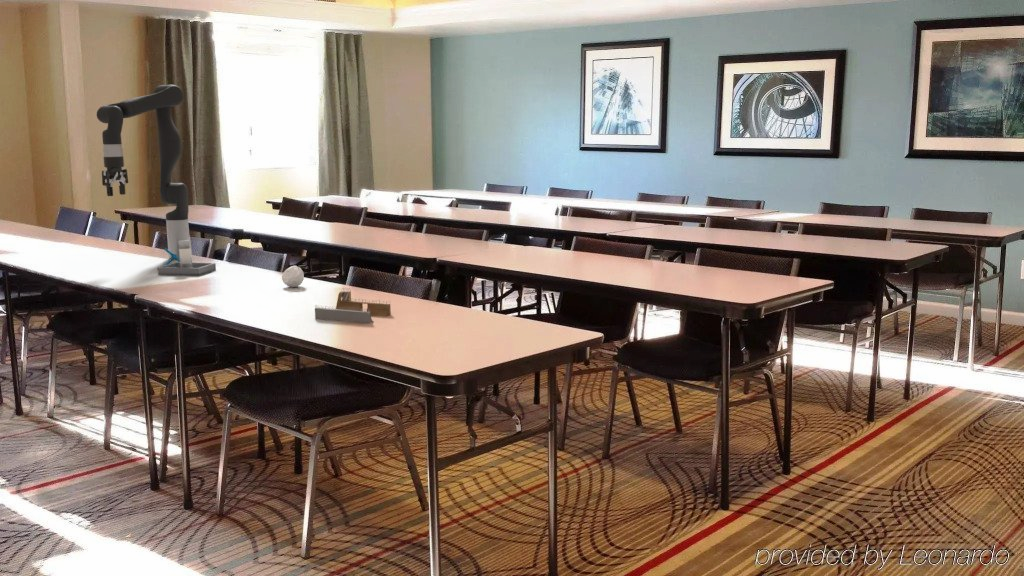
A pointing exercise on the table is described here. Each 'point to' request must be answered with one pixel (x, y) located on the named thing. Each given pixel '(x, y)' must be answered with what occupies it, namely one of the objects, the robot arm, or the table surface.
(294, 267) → the white ball
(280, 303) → the table surface
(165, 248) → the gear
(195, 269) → the parts tray
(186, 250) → the fuse
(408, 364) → the table surface
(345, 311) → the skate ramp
